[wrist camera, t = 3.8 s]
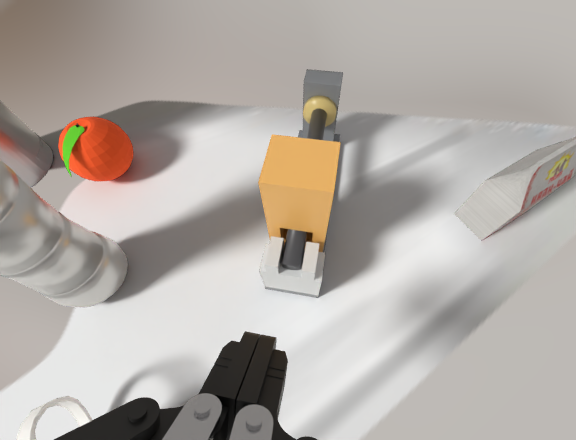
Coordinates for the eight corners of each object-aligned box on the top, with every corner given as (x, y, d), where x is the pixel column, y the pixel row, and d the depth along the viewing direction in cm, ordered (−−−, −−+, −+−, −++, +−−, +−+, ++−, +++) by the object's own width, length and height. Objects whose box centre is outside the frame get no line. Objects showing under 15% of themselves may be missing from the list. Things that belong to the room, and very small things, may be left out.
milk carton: (454, 213, 31) (515, 148, 22) (498, 186, 33) (572, 115, 24) (481, 241, 30) (558, 182, 21) (527, 211, 31) (617, 144, 22)
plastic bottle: (149, 275, 29) (-82, 112, 11) (86, 328, 27) (-323, 228, 9) (115, 235, 31) (-122, 48, 14) (54, 281, 29) (-324, 128, 11)
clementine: (126, 204, 33) (87, 163, 27) (70, 197, 34) (18, 156, 27) (152, 150, 37) (123, 103, 31) (101, 145, 37) (62, 98, 31)
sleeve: (322, 253, 26) (333, 192, 17) (271, 245, 26) (258, 182, 18) (327, 214, 28) (340, 142, 19) (279, 207, 28) (271, 134, 20)
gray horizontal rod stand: (317, 297, 27) (325, 264, 19) (265, 288, 28) (252, 252, 20) (339, 139, 37) (350, 73, 29) (299, 134, 37) (299, 68, 29)
